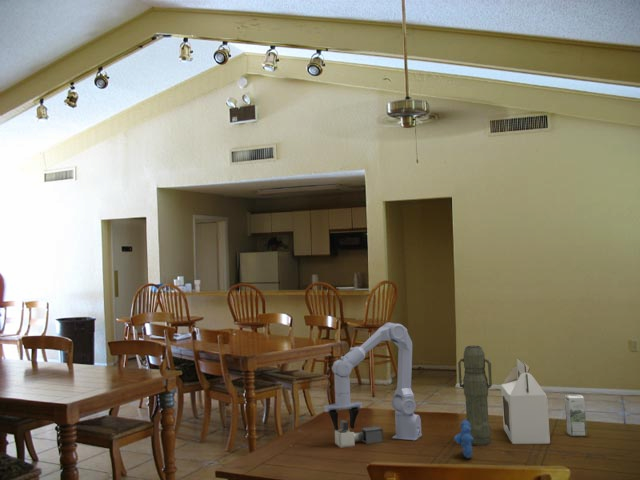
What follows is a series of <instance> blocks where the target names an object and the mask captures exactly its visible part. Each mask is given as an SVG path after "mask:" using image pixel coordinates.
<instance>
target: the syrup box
mask: <svg viewBox="0 0 640 480" xmlns="http://www.w3.org/2000/svg"><path fill="white" fill-rule="evenodd" d="M585 401H586V399H585V397H584V396H583V395H581V394H564V405H565V409H564V410H565V422H566V425H565V426H566V433H567V435H569V436H570V437H587V436H588V435H587V422H586V421H587V420H586V402H585Z"/></svg>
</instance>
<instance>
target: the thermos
mask: <svg viewBox="0 0 640 480" xmlns="http://www.w3.org/2000/svg"><path fill="white" fill-rule="evenodd" d="M485 357H486V356H485V352H484V350H483V347H482V346H480V345H467V346H466V347H465V348H464V351H463V358H460V359H459V361H458V363H457V365H458V366H457V367H458V380H459V387H460V388H462V389H463V395H464V396H465V397H464V398H465V413H466V420H467V421H468V422H469V423H470V424H471V425H470V428H471V431H470V434H471V436H472V437H473V438H474V439H473V441H472V442H471V446H487V445H491V444H492V440H491V439H492V438H491V436H492V431H491V428H492V427H491V425H490V421H489V403H488V396H489V389H490V388H491V387H492V386H493V383H492V382H493V381H492V377H493V376H492V363H491V361H490V360H489V359H487V358H485ZM461 363H463V368H464V376H463V379H462V367H461V366H462V364H461ZM486 363H487V368H488V369H487V370H488V377H487V375H486ZM462 381H463V383H462Z"/></svg>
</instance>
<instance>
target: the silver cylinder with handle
mask: <svg viewBox="0 0 640 480" xmlns="http://www.w3.org/2000/svg"><path fill="white" fill-rule="evenodd" d="M339 429H340V430H341V429H342V433H346V430H348V429H349V422H348V421H347V420H345V419H343V420H342V419H341V420H339ZM362 440H364V433H363V432H362V431H361V432H354V441H355V442H356V441H362Z"/></svg>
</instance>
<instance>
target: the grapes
mask: <svg viewBox="0 0 640 480" xmlns="http://www.w3.org/2000/svg"><path fill="white" fill-rule="evenodd" d="M470 425H471V424H470V423H469V422H468V421H467V419H463V420H462V422H461V423H460V429H461V430H460V431H459V433H457V434H455V436H454V437H453V440H454V442H456V444H458V445H460V446H461V448H462V451H461V452H462V454H463V456H464V457H465V458H466V459H470V458H471V457H472V455H473V451H472V450H473V449H474V448H473V445H471V442H472V441H473V439H474V438H473V437H472V436H471V434H470V431H471V428H470Z"/></svg>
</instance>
